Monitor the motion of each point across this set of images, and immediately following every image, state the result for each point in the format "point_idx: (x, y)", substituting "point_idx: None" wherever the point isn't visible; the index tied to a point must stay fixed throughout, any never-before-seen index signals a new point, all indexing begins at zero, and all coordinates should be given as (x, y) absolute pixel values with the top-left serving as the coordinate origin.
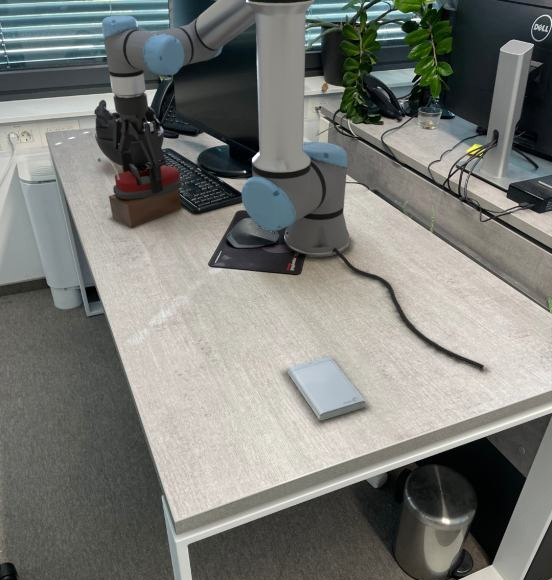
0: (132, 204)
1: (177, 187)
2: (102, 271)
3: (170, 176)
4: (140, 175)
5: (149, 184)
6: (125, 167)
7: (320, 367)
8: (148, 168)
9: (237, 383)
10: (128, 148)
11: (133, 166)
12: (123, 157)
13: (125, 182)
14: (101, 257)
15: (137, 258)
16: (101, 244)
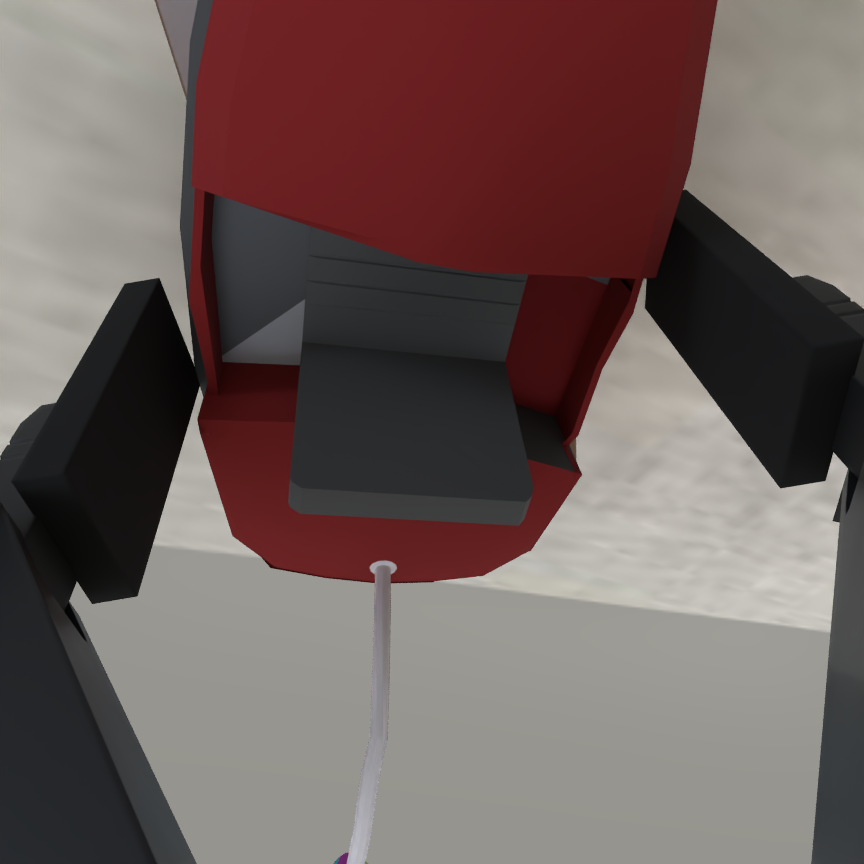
0: (575, 446)
1: None
2: (785, 609)
3: (710, 28)
4: (209, 248)
5: (611, 334)
6: (165, 463)
7: None
8: (342, 229)
9: None
10: (34, 566)
11: (415, 506)
12: (132, 565)
13: (513, 555)
14: (688, 584)
15: (840, 483)
16: (581, 552)
